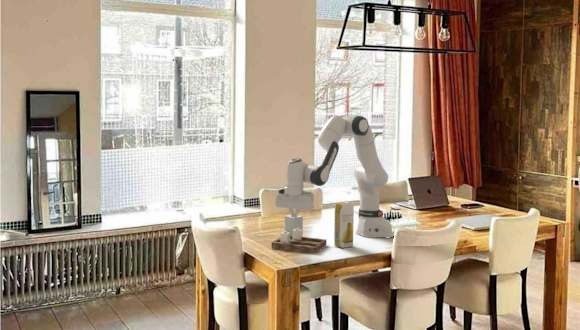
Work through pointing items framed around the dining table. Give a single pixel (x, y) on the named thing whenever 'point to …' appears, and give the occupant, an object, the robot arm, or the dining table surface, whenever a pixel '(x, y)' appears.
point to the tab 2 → (297, 234)
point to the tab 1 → (285, 237)
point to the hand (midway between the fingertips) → (294, 217)
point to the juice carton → (344, 224)
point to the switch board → (301, 245)
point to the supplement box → (293, 223)
